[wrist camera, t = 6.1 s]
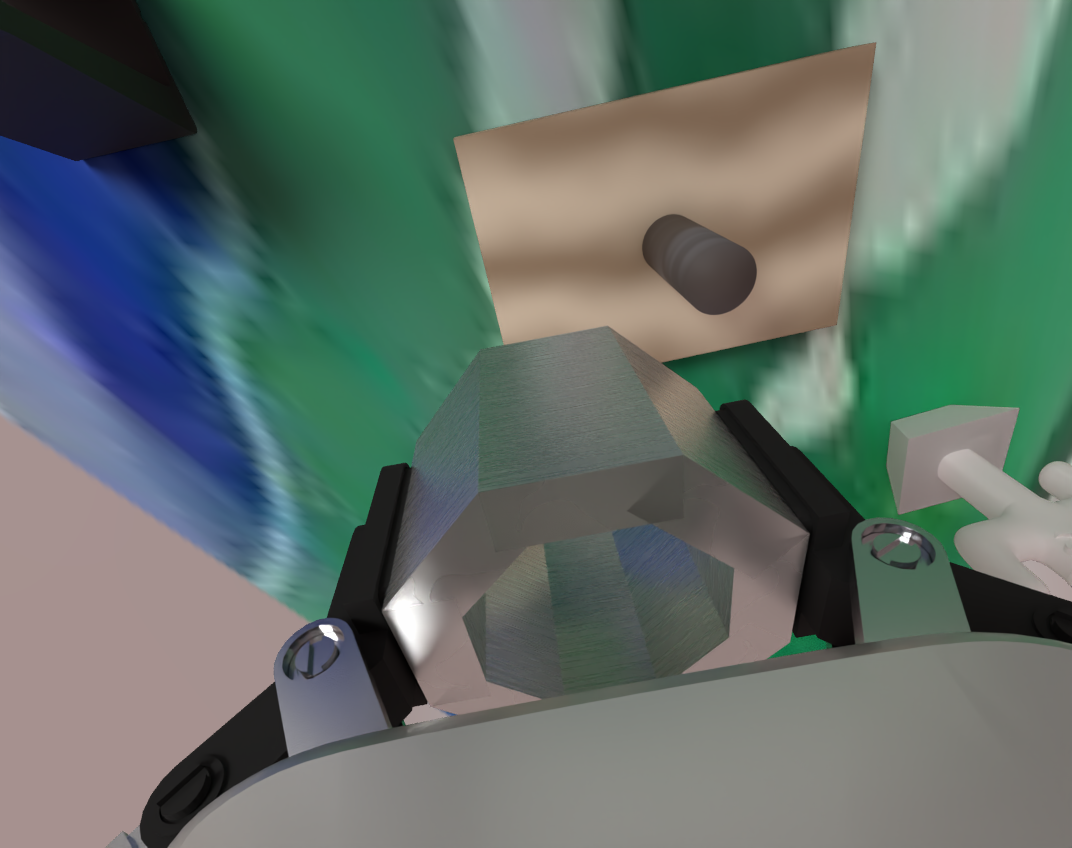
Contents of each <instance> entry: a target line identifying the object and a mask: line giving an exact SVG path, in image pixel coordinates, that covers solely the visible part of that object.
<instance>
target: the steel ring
mask: <svg viewBox="0 0 1072 848" xmlns="http://www.w3.org/2000/svg"><path fill="white" fill-rule="evenodd" d="M411 468H412V473H411V478H410V483H409V488H408V493H407V498H406V503H405V508H404V513H403V518H402V523H401V528H400V533H399V538H398V543H397V548H396V553H395V558H394V563H393V568H392V573H391V578H390V582H389V586H388V588H387V591H386V593H385V598H384V603H383V608H382V613H383V615H384V617H385V619H386V621H387V623H388V625H389V627H390V629H391V631H392V633H393V635H394V637H395V638H396V640H397V642H398V644H399V646H400V648H401V650H402V652H403V654H404V656H405V658H406V660H407V662H408V664H409V666H410V668H411V670H412V672H413V674H414V676H415V677H416V679H417V681H418V683H419V685H420V687H421V689H422V691H423V693H424V695H425V697H426V699H427V701H428V703H429V705H430V707H433V708H437V709H440V710H444V711H447V712H451V713H454V714H458V715H461V714H466V713H472V712H477V711H482V710H488V709H493V708H499V707H504V706H509V705H515V704H520V703H526V702H531V701H536V700H542V699H547V698H553V697H558V696H564V695H569V694H575V693H580V692H586V691H591V690H597V689H602V688H608V687H613V686H619V685H624V684H630V683H636V682H641V681H647V680H652V679H658V678H664V677H669V676H675V675H680V674H686V673H691V672H697V671H703V670H708V669H714V668H720V667H726V666H731V665H737V664H743V663H749V662H754V661H760V660H766V659H767V658H768V657H770V656H771V655H773V654H774V653H775V652H777V651H778V650H780V649H781V648H782V647H784V646H785V645H787V644H788V643H790V639H791V633H792V628H793V623H794V617H795V612H796V606H797V601H798V595H799V590H800V584H801V579H802V574H803V568H804V563H805V557H806V552H807V546H808V541H809V535H810V533H809V532H808V531H807V529H806V528H805V527H804V526H803V524H802V523H801V522H800V520H799V519H798V518H797V517H796V515H795V514H794V513H793V511H792V510H791V509H790V508H789V506H788V505H787V504H786V502H785V501H784V500H783V499H782V497H781V496H780V495H779V493H778V492H777V491H776V490H775V488H774V487H773V486H772V484H771V483H770V482H769V480H768V479H767V478H766V477H765V475H764V474H763V473H762V471H761V470H760V469H759V468H758V466H757V465H756V464H755V462H754V461H753V460H752V459H751V457H750V456H749V455H748V453H747V452H746V451H745V449H744V448H743V447H742V446H741V444H740V443H739V442H738V440H737V439H736V438H735V437H734V435H733V434H732V433H731V431H730V430H729V429H728V428H727V426H726V425H725V424H724V422H723V421H722V420H721V418H720V417H719V416H718V415H717V413H716V412H715V411H714V409H713V408H712V407H711V406H710V404H709V403H708V402H707V400H706V399H705V398H704V397H703V395H702V394H701V393H700V391H699V390H698V389H697V388H696V387H694V386H693V385H692V384H690V383H689V382H687V381H686V380H684V379H683V378H682V377H680V376H679V375H677V374H676V373H674V372H673V371H672V370H670V369H669V368H667V367H666V366H665V365H663V364H662V363H660V362H659V361H657V360H656V359H655V358H653V357H652V356H650V355H649V354H647V353H646V352H645V351H643V350H642V349H640V348H639V347H638V346H636V345H635V344H633V343H632V342H630V341H629V340H628V339H626V338H625V337H623V336H622V335H620V334H619V333H618V332H616V331H615V330H613V329H612V328H610V327H609V326H603V327H598V328H592V329H587V330H582V331H576V332H571V333H566V334H560V335H555V336H550V337H544V338H539V339H534V340H528V341H523V342H518V343H512V344H507V345H502V346H496V347H491V348H486V349H480V351H479V352H478V353H477V355H476V356H475V358H474V359H473V361H472V362H471V364H470V365H469V366H468V368H467V369H466V371H465V372H464V374H463V375H462V376H461V378H460V379H459V381H458V382H457V384H456V385H455V386H454V388H453V389H452V391H451V392H450V394H449V395H448V396H447V398H446V399H445V401H444V402H443V404H442V405H441V407H440V408H439V409H438V411H437V412H436V414H435V415H434V417H433V418H432V419H431V421H430V422H429V424H428V425H427V427H426V428H425V429H424V431H423V432H422V434H421V435H420V437H419V438H418V440H417V442H416V447H415V452H414V456H413V461H412V466H411Z"/></svg>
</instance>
